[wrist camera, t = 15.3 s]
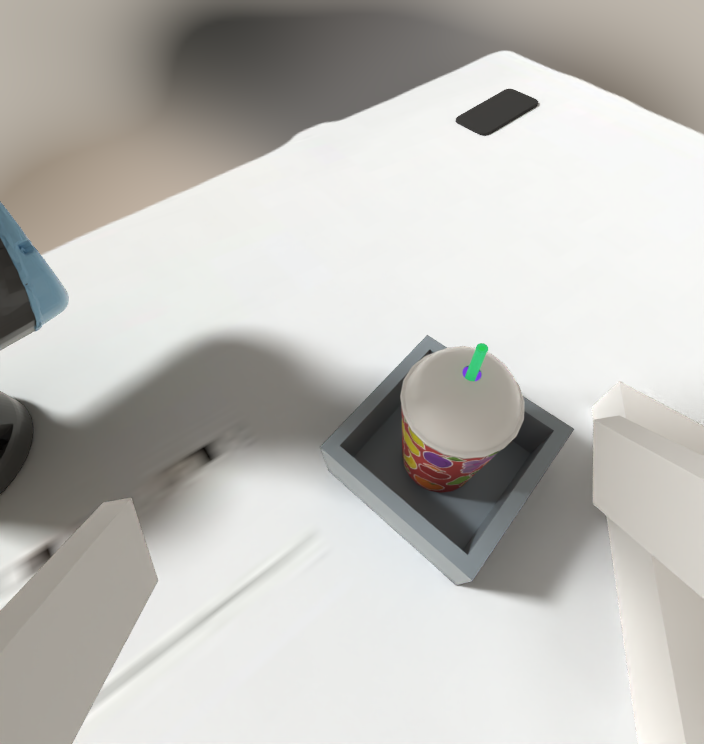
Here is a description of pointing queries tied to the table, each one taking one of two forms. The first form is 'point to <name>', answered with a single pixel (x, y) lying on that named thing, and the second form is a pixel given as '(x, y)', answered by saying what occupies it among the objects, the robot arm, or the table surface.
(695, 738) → the triangle block
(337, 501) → the table surface
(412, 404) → the smoothie
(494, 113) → the phone
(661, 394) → the table surface
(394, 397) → the tray
